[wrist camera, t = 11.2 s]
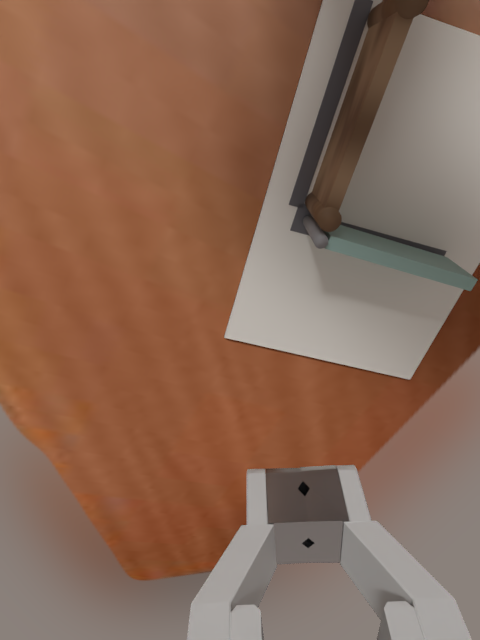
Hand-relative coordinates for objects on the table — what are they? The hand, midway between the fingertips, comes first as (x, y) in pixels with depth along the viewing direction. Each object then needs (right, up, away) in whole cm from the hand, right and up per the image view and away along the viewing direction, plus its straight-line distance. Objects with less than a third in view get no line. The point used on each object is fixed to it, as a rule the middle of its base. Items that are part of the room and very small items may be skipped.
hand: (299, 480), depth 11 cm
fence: (+6, +20, +19) cm, 28 cm away
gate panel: (+10, +11, +22) cm, 27 cm away
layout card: (+10, +13, +23) cm, 28 cm away
